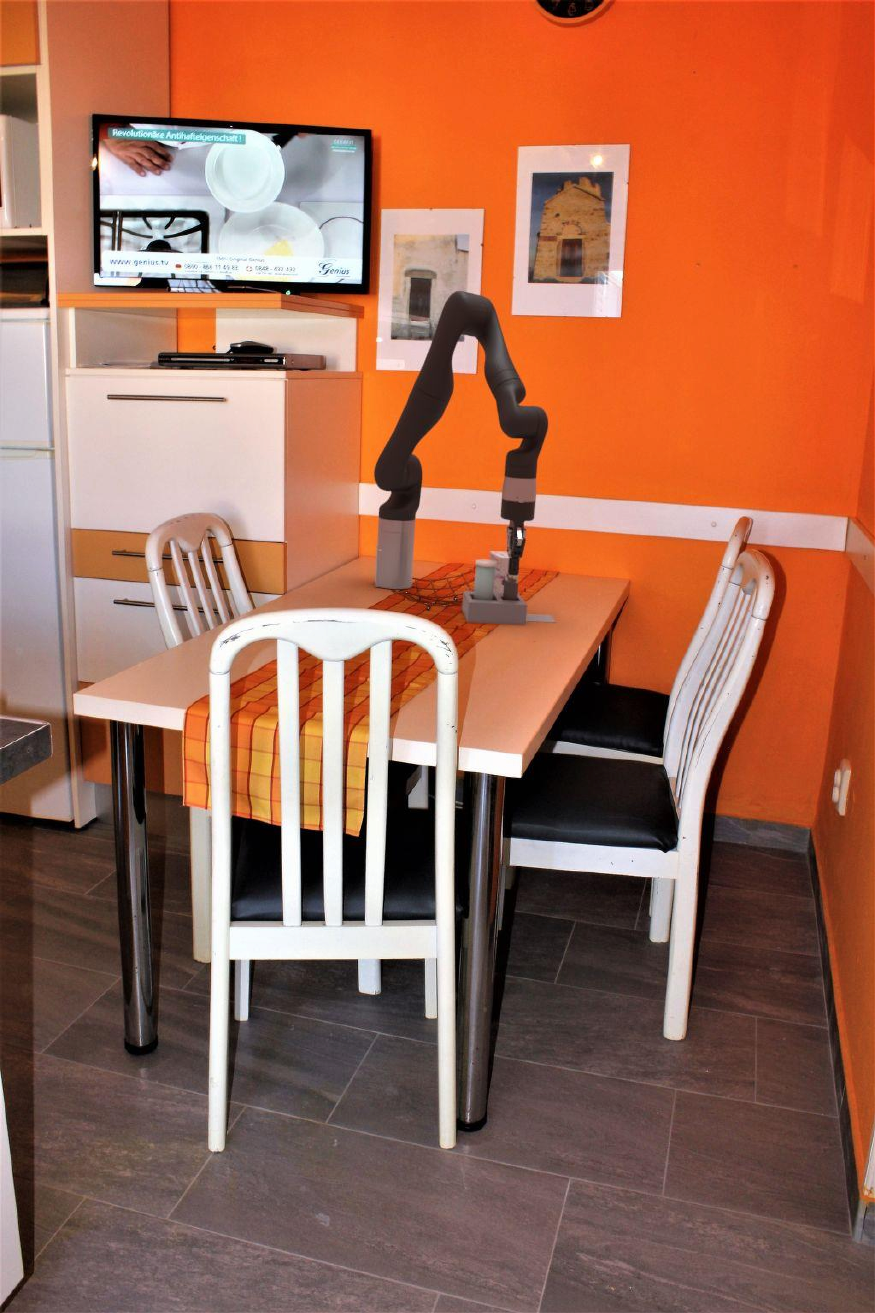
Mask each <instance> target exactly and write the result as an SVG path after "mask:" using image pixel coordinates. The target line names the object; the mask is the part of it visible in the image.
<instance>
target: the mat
mask: <svg viewBox="0 0 875 1313" xmlns="http://www.w3.org/2000/svg"><path fill="white" fill-rule="evenodd" d="M529 622H531V623H549V624H550V623H553V624H555V623H556V620H555V619H554V618H553V616H552V615H550V614H536V613H535V614H534V613H533V614H532V613H526V623H529Z"/></svg>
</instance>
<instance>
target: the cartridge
mask: <svg viewBox="0 0 875 1313" xmlns="http://www.w3.org/2000/svg"><path fill="white" fill-rule="evenodd" d="M474 562H475V563H474V564H475V575H474V585H473V586H474V588H473V591H474V599H473V600H493V593H494V580H495V568H496V566H497V561H494V560H490V559H488V558H487V559H486V558H478V559H475V561H474Z"/></svg>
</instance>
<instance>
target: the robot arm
mask: <svg viewBox="0 0 875 1313" xmlns="http://www.w3.org/2000/svg"><path fill="white" fill-rule="evenodd" d="M462 335H463V336H468V337H474V338H475V339H476V340H477V341H478V342H479V344H480V346H481V347H482V349H483V351H484V352H483V353H484V364H483V365H484V366H483V371H484V373H483V374H484V377H485V381H486V384H487V385H488V388H489V390H490V392H491V394H492V396H493V398H494V400H495V403H496V404H495V405H496V410H497V416H498V421H499V427H500V429H501V431H502V432H503V433H504V434H505V435H506V436H507V437H508V438H510V439H518V440H519V439H521V441H520V442H521V443H520V445H519V446H518V447H517V448H513V449H511V450H509V451H507V453H506V456H505V463H504V464H505V465H504V466H505V467H504V477H503V483H502V488H501V489H502V491H501V502H500V503H501V504H500V517H501V519H503V520H506V521H509V522H508V523H509V525H507V526H506V528H505V530H506V531H505V533H506V552H507V553H508V557H509V562H508V574H509V575H515V576H516V575H518V576H519V568H520V560H521V559H522V557H523V553H524V549H525V545H526V542H527V541H526V537H527V528H525V522H531V521H533V520H534V519H535V514H536V513H535V511H536V501H537V472H538V461H539V457H540V455H541V452H542V448H543V446H544V442H545V439H546V437H547V433H548V429H549V418H548V415H547V412H546V411H545V409H544V408H542V407H540V406H538V405H537V406H536V405H520V404H521V403H523V401H524V399H525V398H526V396H527V395H526V394H527V391H526V387H525V385H524V383H523V381H522V379H521V377H520V374H519V373H518V371H517V369H516V367H515V365H514V362H513V361H512V358H511V355H510V353H509V350H508V347H507V343H506V341H505V337H504V333H503V331H502V327H501V324H500V320H499V316H498V313H497V311H496V308H495V306H494V304H493V302H492V300H490V299H489V298H488V297H486V296H484V295H480V294H478V293H477V294H476V293H473V292H468V291H463V290H457V291H454V292H453V293H452V294H450V295H449V296H448V298H447V300H446V301H445V303H444V305H443V307H442V310H441V313H440V316H439V318H438V322H437V325H436V328H435V331H434V334H433V338H432V340H431V343H430V346H429V349H428V350H427V351H428V352H427V353H426V357H425V359H424V361H423V364H422V366H421V368H420V371H419V373H418V375H417V377H416V379H415V382H414V383H413V386H412V388H411V391H410V393H409V396H408V398H407V400H406V403H405V405H404V408H403V410H402V412H401V414H400V417H399V419H398V421H397V422H396V425H395V427H394V429H393V432H392V433H391V435H390V437H389V439H388V440H387V443H386V444H385V446H384V447H383V450H382V451H381V452H380V454H379V456H378V459H377V461H376V462H375V466H374V470H373V473H374V475H373V477H374V481H375V484H376V486H377V487H378V488H379V489H380V490H381V491H384V492H390V495H389V498H388V499H387V500H386V501H384V502H383V503H382V504H381V505H380V506H379V508H378V521H377V522H378V524H377V542H376V544H377V545H376V556H375V569H374V570H375V573H374V574H375V575H374V587H376V588H383V589H387V590H388V589H389V590H390V589H392V590H405V589H410V588H412V583H413V582H412V581H413V564H414V549H415V548H414V547H415V532H416V531H415V530H416V517H417V512H418V510H419V507H420V503H421V497H422V496H421V494H422V487H423V486H422V485H423V467H422V463H421V461H420V459H419V458H418V456H416V454H413V453H414V450H415V449H416V446H417V445H418V444H419V443H420V442H421V440H423V438H424V437H425V436H426V435H428V433H429V432H430V431H431V430H432V429H433V428H434V427H435V426H436V425H437V424H438V422H439V421H440V420H441V418H443V416H444V414H445V412H446V409H447V407H448V405H449V403H450V400H451V399H452V397H453V394H454V388H455V387H454V386H455V381H454V380H455V379H454V370H453V356H454V353H455V351H456V350H455V349H456V347H457V344H458V342H459V340H460V338H461V336H462Z"/></svg>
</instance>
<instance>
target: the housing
mask: <svg viewBox="0 0 875 1313" xmlns="http://www.w3.org/2000/svg"><path fill="white" fill-rule="evenodd" d="M473 599H474V590H472V591H471V590H464V591H463V593H462V607H461V610H462V613H463V615H464V617H465V620H466V622H467V623H471V624H472V623H475V624H498V625H499V624H500V625H515V626H516V625H517V626H518V625H519V626H526V625H527V621H526V614H528V613H527V612H528V611H527V609H528V603H526V601H525V600H524V598H523V597H522V596H521V594H520V593H518V594H517V601H510V600H503V593H495V592H494V593H493V600H473Z"/></svg>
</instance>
